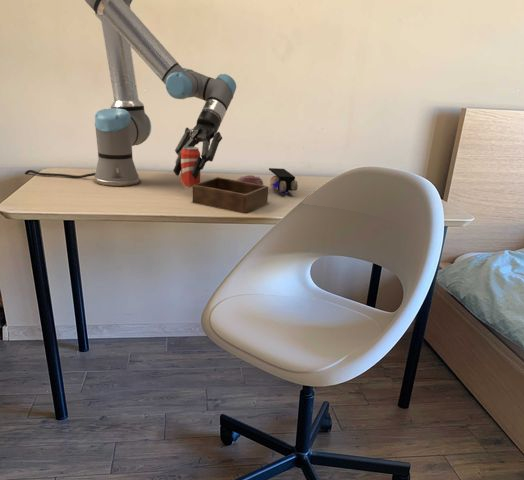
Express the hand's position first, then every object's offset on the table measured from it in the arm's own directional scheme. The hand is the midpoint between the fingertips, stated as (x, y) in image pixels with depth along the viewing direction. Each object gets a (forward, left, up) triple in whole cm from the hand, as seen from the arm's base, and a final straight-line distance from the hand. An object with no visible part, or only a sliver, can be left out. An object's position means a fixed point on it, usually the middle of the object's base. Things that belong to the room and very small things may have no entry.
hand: (184, 174), depth 168 cm
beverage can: (0, +4, -4) cm, 6 cm away
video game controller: (+13, +22, -7) cm, 26 cm away
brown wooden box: (+16, +3, -7) cm, 18 cm away
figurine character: (+23, +29, -7) cm, 37 cm away
